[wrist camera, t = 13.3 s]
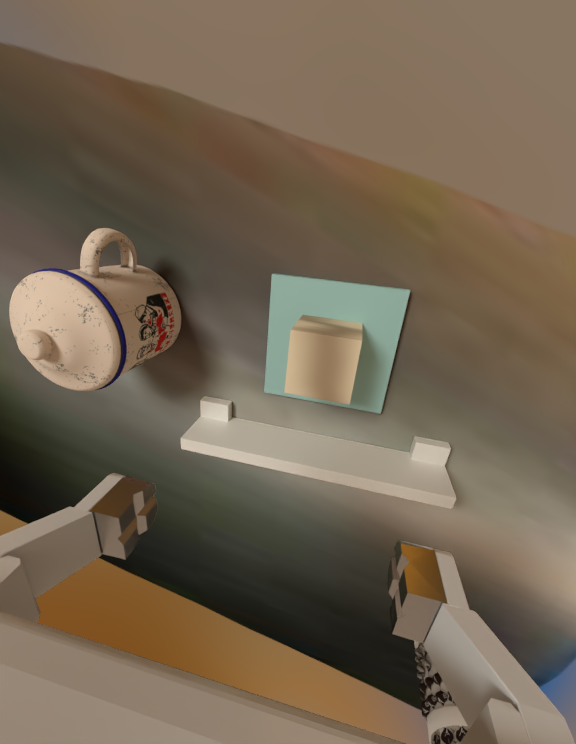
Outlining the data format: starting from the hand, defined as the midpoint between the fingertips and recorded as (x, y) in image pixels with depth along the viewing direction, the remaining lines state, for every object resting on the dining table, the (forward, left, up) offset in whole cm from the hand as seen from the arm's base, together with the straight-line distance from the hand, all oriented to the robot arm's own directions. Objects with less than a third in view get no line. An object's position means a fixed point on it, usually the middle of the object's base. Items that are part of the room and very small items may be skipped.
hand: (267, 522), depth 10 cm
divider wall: (0, -10, -20) cm, 22 cm away
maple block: (0, 0, -19) cm, 19 cm away
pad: (0, 0, -20) cm, 20 cm away
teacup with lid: (-18, +2, -20) cm, 27 cm away
